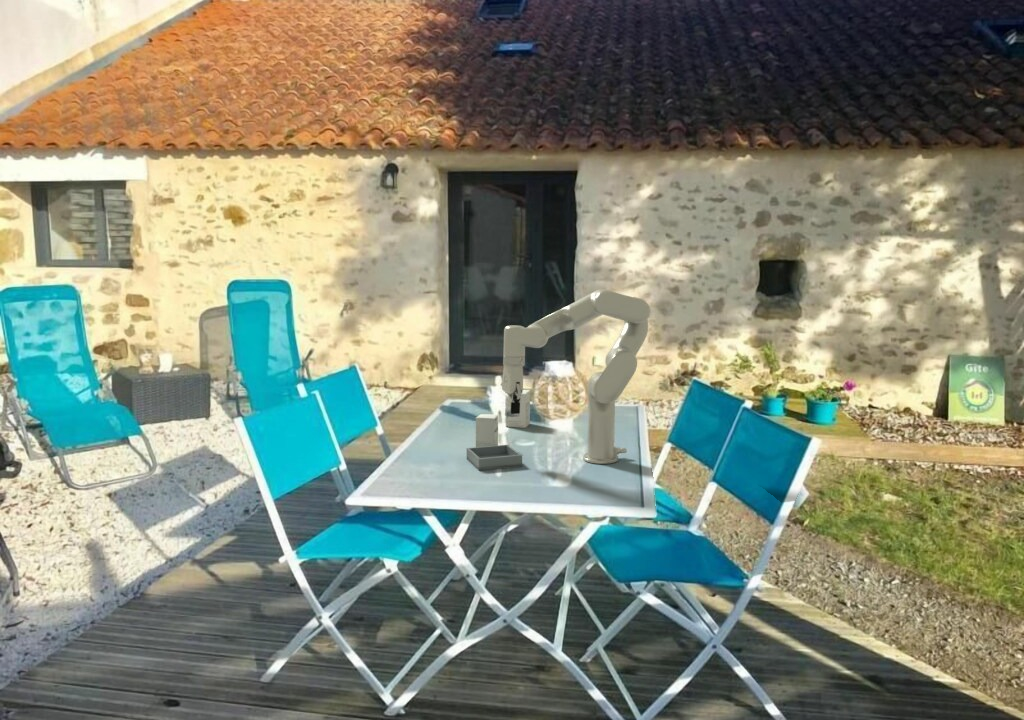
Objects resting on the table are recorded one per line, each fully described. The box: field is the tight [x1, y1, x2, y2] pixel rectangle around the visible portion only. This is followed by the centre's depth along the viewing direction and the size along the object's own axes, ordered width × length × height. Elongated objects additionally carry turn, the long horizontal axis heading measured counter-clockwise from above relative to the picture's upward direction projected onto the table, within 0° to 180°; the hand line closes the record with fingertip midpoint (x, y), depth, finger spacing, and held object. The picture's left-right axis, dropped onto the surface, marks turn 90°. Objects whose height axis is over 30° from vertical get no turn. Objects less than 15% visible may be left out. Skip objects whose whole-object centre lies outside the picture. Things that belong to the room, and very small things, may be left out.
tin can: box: [504, 392, 520, 417], centre depth 270 cm, size 5×5×8 cm
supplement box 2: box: [505, 389, 531, 429], centre depth 328 cm, size 9×9×15 cm
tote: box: [466, 444, 523, 471], centre depth 271 cm, size 16×16×4 cm
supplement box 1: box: [475, 413, 499, 447], centre depth 289 cm, size 7×7×13 cm
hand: (512, 411), depth 271 cm, fingers closed on tin can, 5 cm apart
